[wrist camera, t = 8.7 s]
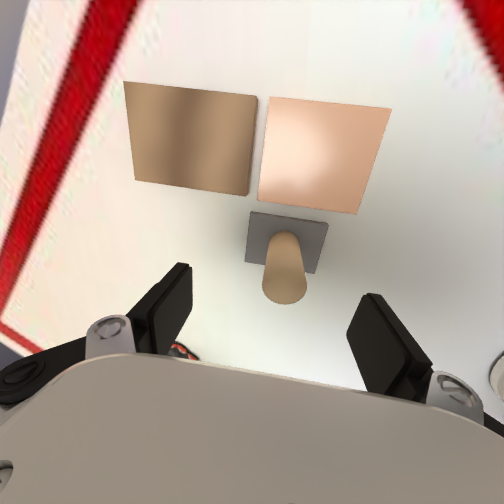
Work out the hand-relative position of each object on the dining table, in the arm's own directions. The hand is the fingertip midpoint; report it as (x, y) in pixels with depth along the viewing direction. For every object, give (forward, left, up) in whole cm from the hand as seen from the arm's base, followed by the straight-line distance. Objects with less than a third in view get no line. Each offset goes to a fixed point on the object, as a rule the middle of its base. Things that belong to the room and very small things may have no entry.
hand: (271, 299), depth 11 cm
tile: (-6, -7, -9) cm, 13 cm away
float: (-1, 0, -10) cm, 10 cm away
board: (+8, -7, -10) cm, 15 cm away
